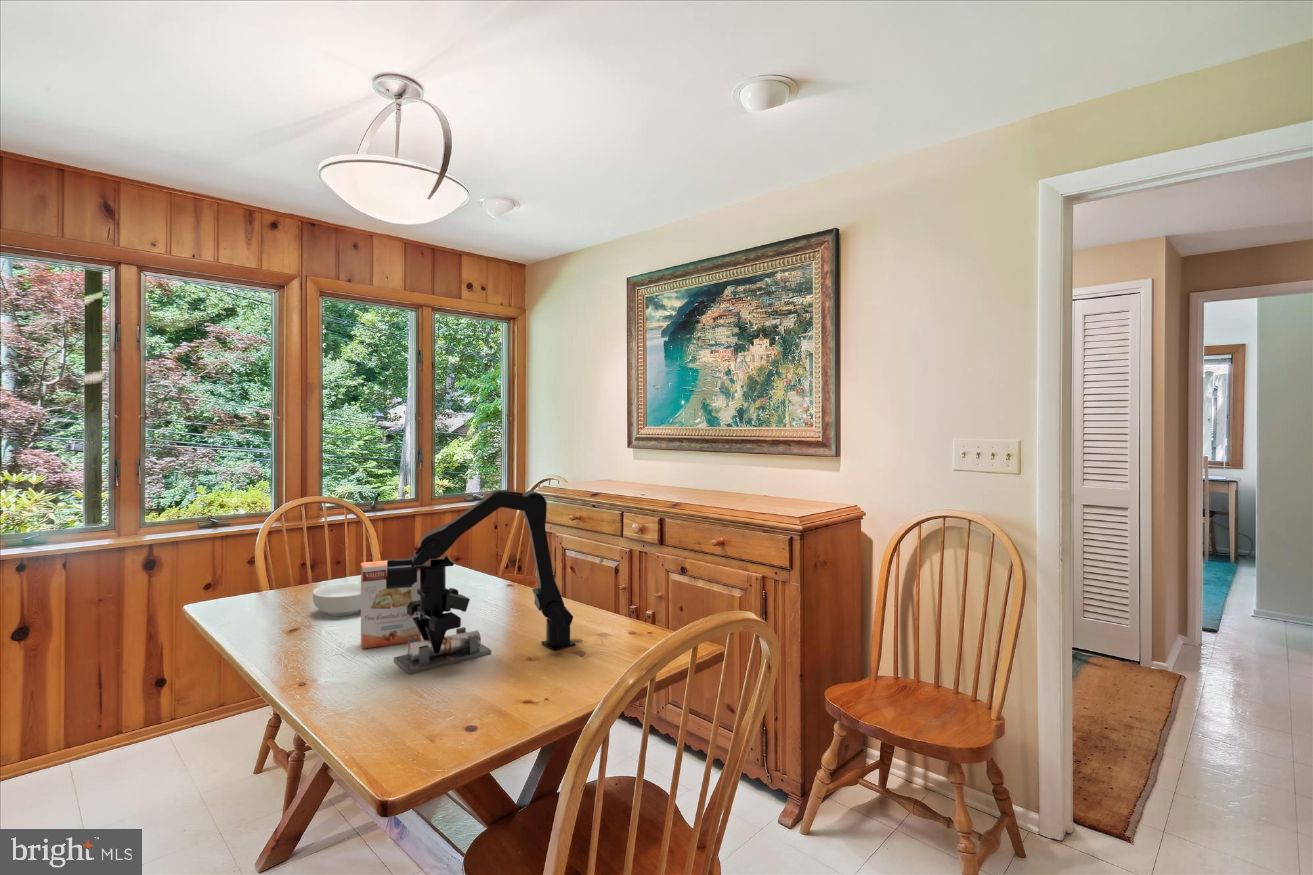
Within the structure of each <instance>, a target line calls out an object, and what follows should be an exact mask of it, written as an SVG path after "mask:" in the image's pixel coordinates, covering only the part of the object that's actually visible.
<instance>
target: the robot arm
mask: <svg viewBox="0 0 1313 875" xmlns="http://www.w3.org/2000/svg"><path fill="white" fill-rule="evenodd" d="M500 508H506V509H511V510H516V511H521V513H522V515H523V518H524V520H525V522H526V525H527V528H528V532H529V537H530V542H531V548H532V554H533V560H534V565H535V571H536V575H537V576H536V577H537V588H532V593H533V596H534V602H533V604H534V605H535V607H536V608H537V610H538V612H541V613H542V615H543V616H544V617H545V619H546V625H545V626H546V627H545V629H546V632H545V633H546V637H545V638H546V640H543V641H541V642H540V643H541V645H543V646H544V647H547V648H548V649H550V650H552V651H557V650H562V649H565V648H569V647H573V646H575V645H576V642H575V641H573V640H572V639H571V625H572V623H573V622H572V621H573V619H574V615H573V614H572V613H571V612H570V611H569V609H568V608H567V607H566V606H565V603H564V600H563V597H562V595H561V592H560V589H559V588H558V585H557V583H556V580H555V576H554V570H553V564H552V563H553V562H552V557H551V554H550V548H549V542H548V536H547V530H546V521H547V501H546V498H545V497H544V495H542V494H540V493H538V492H537V491H535V490H527V491H525V492H518V491H517V492H516V491H507V490H501V489H499V488H498V489H494V490H492V491H490V493H489V494H488V495H487V496H485V497H484V498H482V499H481V500H480V501H478V502H477V503H475V504H474V505H473V506H471V507H470V508H468V509H467V510H466V511H464V512H462V513H461V514H460V515H458V516H457V517H456V518H454V519H453V520H451V521H449V522H447V523H445V524H441V525H439V526H437V527H435V528H432V529H431V530H428V531H427V532H425V533H423V535H422V536H421V538H420V541H419V547H417V549H416V551H415V552H414V553H413V555H412V556H411V558H410V557H409V558H388V559H387V574H386V589H395V588H408V587H412V585H414V582H415V583H416V582H417V569H418V568H420V589H417V594H419V595H420V600H418V601H412V602H410V603H409V604H408V605H407V614H409V615H410V616H413V615H414V612H416V617H415V618H413V621H414V622H415V624H416V626H417V628H418V630H419V632H420V634H421V638H422V641H424V640H430V643H431V646H432V648H433V651H434V653H439V652H440V649H441V645H442V642H443V639H444V636H446V633H447V631H449V630H454V629H457V628H462V627H461V626H462V621H461V620H462V618H461V617H460V616H458V615H457V614H456V613H454V612H452V610H456V611H457V610H458V611H461V612H462V613H463V612H467V610H468V607H469V603H470V601H471V598H469V597H467V596H465V595H463V594H460V593H459V590H458V589H456V588H453V587H449V588H446V587H447V586H446V583H447V582H446V580H447V579H446V577H447V576H446V568H447V567H453V566H454V565H455V563H454V561H453V559H451V558H450V557H449V556H448V554H445V553H446V552H447V551H448V550H449V549H450V548H451V547H452V546H453V544H455V543H456V541H457V540H458V539H459V538H460V537H461V536H462V535H464V534H465V533H466V532H468V531H469V530H470V529H472V528H473V527H474V526H476V525H477V524H479V523H480V522H482V521H483V520H485V519H486V518H487V517H488V516H490V515H492V513H494V512H495V511H497V510H499V509H500ZM444 554H445V555H444ZM443 555H444V556H443ZM442 556H443V557H442ZM440 557H441V558H440ZM414 565H415V567H414ZM451 609H452V610H451Z"/></svg>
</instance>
